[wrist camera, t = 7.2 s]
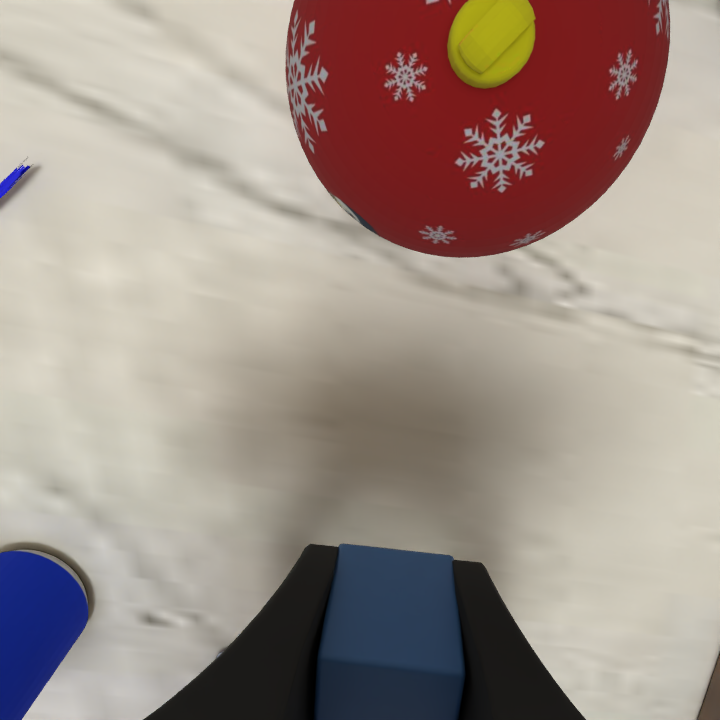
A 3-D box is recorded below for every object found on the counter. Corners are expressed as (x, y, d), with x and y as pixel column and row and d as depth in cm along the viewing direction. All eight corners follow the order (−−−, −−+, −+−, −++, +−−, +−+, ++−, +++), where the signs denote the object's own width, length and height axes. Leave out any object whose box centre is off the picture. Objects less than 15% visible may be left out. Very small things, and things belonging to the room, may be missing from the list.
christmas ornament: (660, 90, 18) (940, 21, 8) (445, 286, 20) (472, 404, 11) (467, -152, 16) (541, -574, 7) (260, 93, 19) (105, 33, 9)
